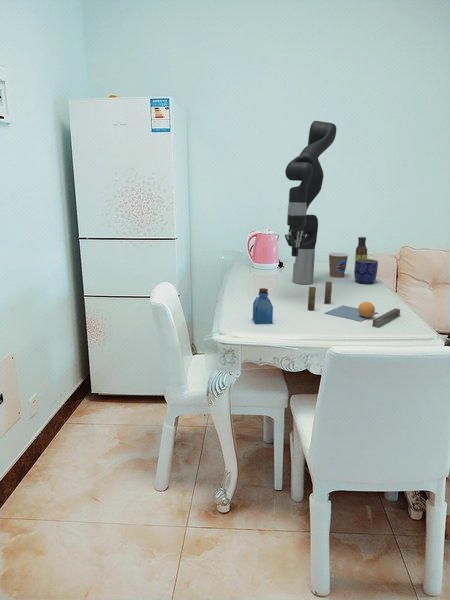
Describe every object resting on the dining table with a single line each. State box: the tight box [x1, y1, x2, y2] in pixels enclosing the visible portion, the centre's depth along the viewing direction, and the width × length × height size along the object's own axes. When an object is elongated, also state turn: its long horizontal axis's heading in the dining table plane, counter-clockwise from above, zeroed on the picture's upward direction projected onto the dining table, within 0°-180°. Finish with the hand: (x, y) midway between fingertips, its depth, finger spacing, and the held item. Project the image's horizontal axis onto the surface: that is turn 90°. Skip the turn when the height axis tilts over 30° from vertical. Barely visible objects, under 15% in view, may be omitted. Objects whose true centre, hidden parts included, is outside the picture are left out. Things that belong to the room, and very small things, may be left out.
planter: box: [353, 258, 379, 285], centre depth 230 cm, size 11×11×11 cm
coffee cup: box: [328, 252, 349, 279], centre depth 243 cm, size 10×10×12 cm
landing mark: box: [324, 304, 379, 323], centre depth 179 cm, size 15×15×1 cm
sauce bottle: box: [354, 236, 368, 261], centre depth 251 cm, size 7×6×20 cm
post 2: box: [323, 281, 333, 305], centre depth 191 cm, size 3×3×9 cm
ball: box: [357, 301, 376, 319], centre depth 173 cm, size 6×6×6 cm
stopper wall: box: [372, 308, 401, 329], centre depth 170 cm, size 2×20×2 cm, turn 139°
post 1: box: [307, 286, 317, 311], centre depth 182 cm, size 3×3×9 cm
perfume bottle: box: [252, 287, 274, 325], centre depth 166 cm, size 6×6×12 cm
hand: (294, 256), depth 191 cm, fingers closed
